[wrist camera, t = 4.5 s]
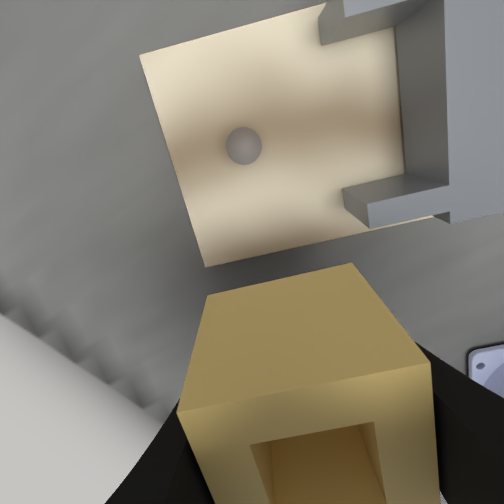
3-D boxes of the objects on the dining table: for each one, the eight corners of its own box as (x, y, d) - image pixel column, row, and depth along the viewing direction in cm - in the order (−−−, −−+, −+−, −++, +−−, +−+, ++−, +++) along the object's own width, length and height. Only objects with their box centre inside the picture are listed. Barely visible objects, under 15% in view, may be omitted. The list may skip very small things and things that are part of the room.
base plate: (444, 206, 17) (493, 224, 14) (208, 259, 18) (197, 289, 15) (437, -20, 14) (499, -71, 10) (147, 61, 15) (115, 39, 11)
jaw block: (370, 379, 12) (442, 528, 8) (243, 404, 13) (240, 561, 8) (352, 262, 11) (430, 362, 6) (207, 295, 11) (176, 412, 6)
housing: (451, 195, 15) (504, 211, 12) (346, 218, 16) (371, 241, 13) (444, -34, 12) (514, -93, 9) (316, 3, 13) (338, -42, 10)
